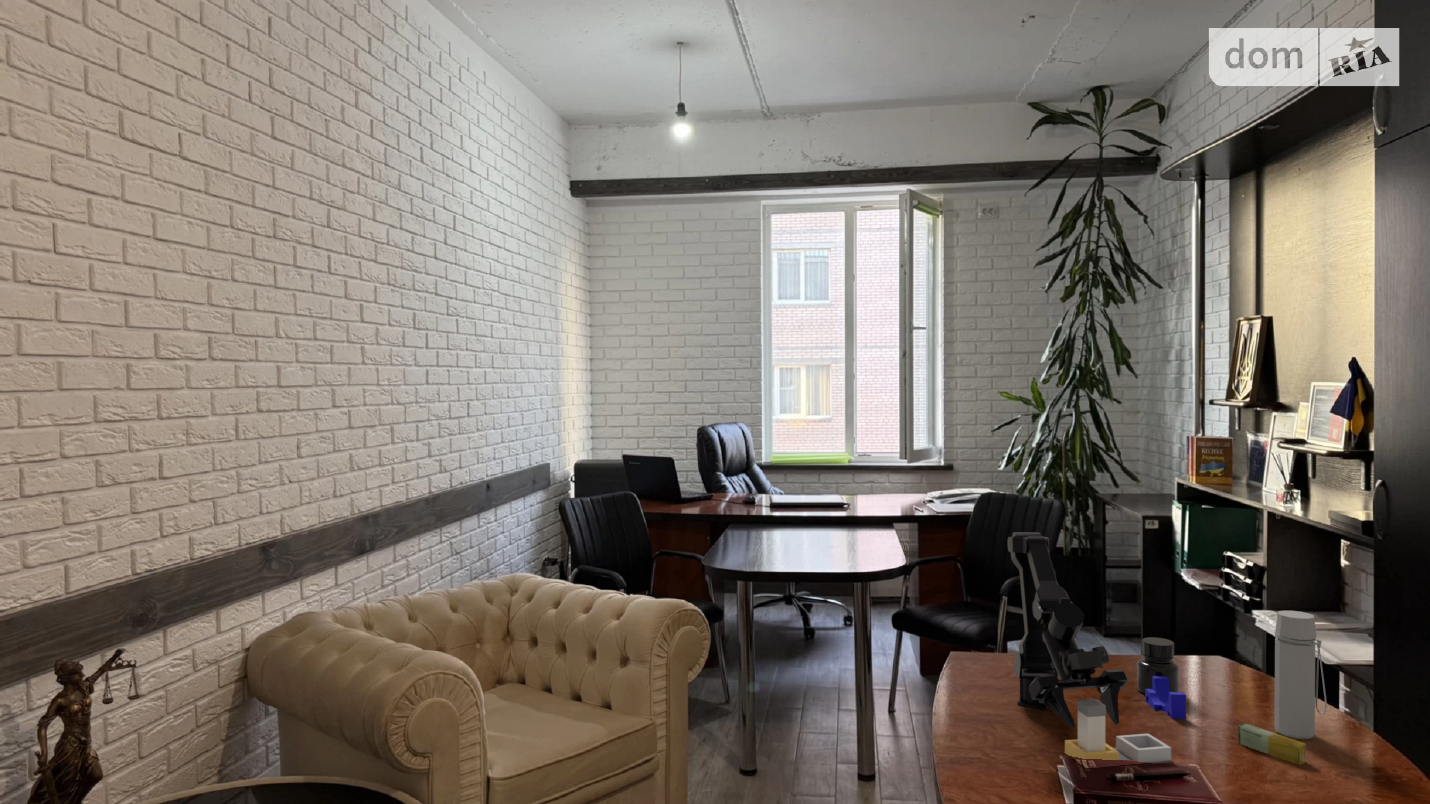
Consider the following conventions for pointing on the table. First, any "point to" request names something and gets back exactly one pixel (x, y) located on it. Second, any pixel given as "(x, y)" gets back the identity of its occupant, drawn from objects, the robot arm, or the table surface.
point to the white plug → (1091, 725)
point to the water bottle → (1296, 674)
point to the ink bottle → (1157, 664)
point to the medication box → (1272, 743)
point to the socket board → (1126, 749)
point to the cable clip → (1166, 698)
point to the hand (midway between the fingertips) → (1095, 725)
